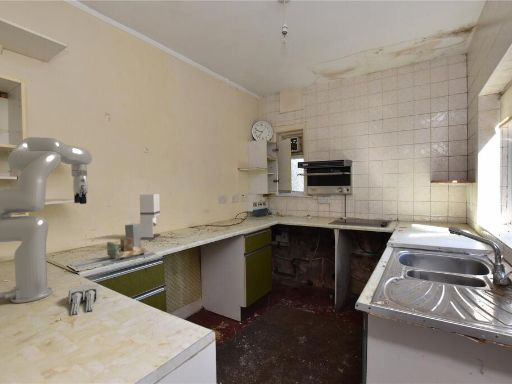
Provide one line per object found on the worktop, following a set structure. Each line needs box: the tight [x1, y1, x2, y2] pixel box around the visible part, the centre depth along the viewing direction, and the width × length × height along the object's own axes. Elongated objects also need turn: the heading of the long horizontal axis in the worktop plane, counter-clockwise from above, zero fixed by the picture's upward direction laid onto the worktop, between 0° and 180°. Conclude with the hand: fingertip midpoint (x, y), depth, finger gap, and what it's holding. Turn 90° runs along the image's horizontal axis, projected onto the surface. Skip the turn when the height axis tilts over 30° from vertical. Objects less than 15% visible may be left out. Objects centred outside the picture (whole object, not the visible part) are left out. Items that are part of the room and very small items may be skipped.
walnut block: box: [119, 237, 133, 252], centre depth 157 cm, size 5×5×7 cm
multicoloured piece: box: [106, 241, 148, 260], centre depth 158 cm, size 18×12×9 cm
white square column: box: [139, 193, 161, 241], centre depth 208 cm, size 11×11×35 cm
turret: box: [67, 284, 100, 317], centre depth 99 cm, size 10×20×5 cm, turn 30°
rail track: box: [68, 249, 157, 269], centre depth 152 cm, size 42×16×1 cm, turn 140°
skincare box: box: [124, 223, 142, 247], centre depth 182 cm, size 8×7×16 cm
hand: (80, 203), depth 154 cm, fingers open, 9 cm apart
